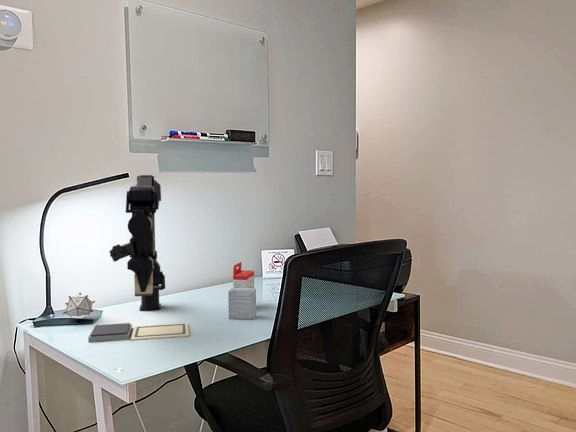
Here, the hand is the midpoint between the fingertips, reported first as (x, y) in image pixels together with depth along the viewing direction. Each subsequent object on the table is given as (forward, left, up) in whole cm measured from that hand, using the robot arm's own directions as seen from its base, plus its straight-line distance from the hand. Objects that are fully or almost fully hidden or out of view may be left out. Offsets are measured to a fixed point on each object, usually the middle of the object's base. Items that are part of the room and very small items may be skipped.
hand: (144, 289), depth 134 cm
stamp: (0, 0, -1) cm, 1 cm away
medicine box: (-9, +28, -12) cm, 32 cm away
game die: (-17, -20, -12) cm, 29 cm away
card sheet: (0, +4, -12) cm, 13 cm away
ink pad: (0, -9, -12) cm, 15 cm away
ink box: (-20, +30, -12) cm, 38 cm away
